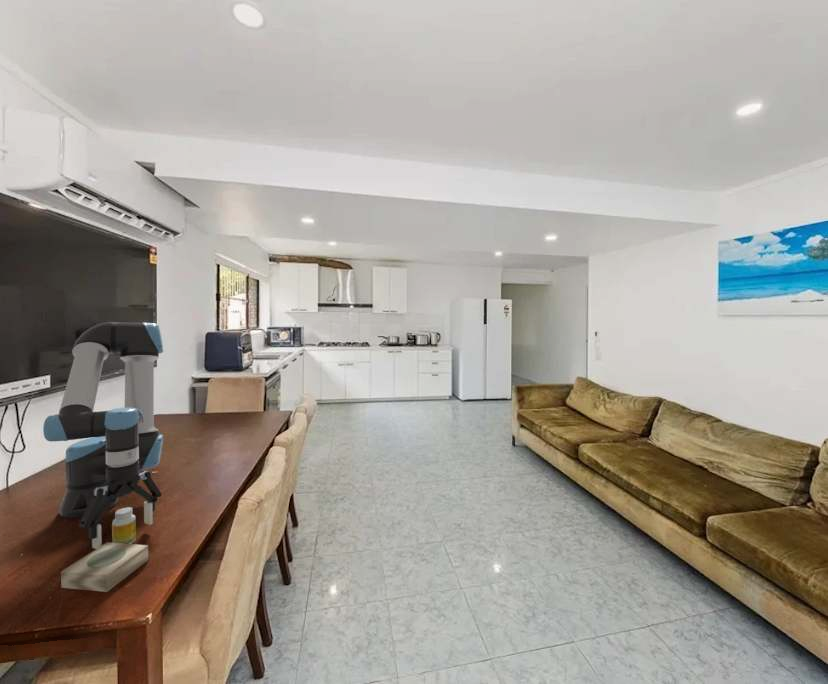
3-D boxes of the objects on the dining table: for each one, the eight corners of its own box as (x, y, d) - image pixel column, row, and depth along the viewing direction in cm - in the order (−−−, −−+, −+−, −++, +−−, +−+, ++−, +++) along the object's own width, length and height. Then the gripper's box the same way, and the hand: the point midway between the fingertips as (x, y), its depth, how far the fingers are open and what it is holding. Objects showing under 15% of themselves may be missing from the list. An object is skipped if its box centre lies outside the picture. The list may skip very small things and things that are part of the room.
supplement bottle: (111, 542, 106) (110, 510, 106) (134, 535, 110) (133, 504, 110) (114, 550, 102) (113, 517, 102) (137, 542, 106) (137, 510, 106)
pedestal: (61, 587, 88) (60, 570, 88) (107, 556, 100) (107, 541, 100) (106, 591, 87) (106, 574, 87) (148, 559, 99) (148, 544, 99)
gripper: (78, 481, 92) (80, 563, 93) (174, 450, 116) (174, 516, 116) (60, 477, 95) (62, 556, 96) (157, 447, 118) (158, 512, 119)
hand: (124, 535), depth 106 cm, fingers open, 13 cm apart
